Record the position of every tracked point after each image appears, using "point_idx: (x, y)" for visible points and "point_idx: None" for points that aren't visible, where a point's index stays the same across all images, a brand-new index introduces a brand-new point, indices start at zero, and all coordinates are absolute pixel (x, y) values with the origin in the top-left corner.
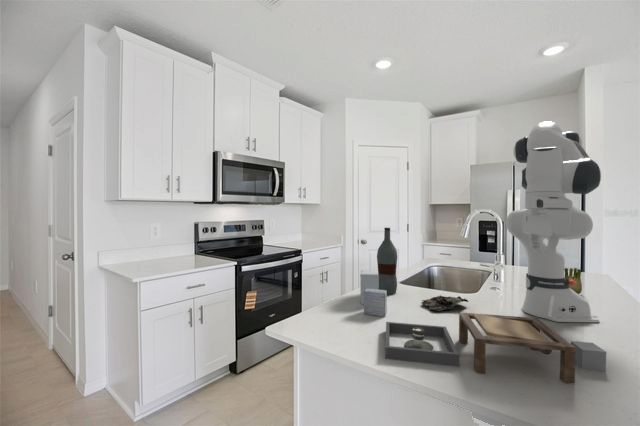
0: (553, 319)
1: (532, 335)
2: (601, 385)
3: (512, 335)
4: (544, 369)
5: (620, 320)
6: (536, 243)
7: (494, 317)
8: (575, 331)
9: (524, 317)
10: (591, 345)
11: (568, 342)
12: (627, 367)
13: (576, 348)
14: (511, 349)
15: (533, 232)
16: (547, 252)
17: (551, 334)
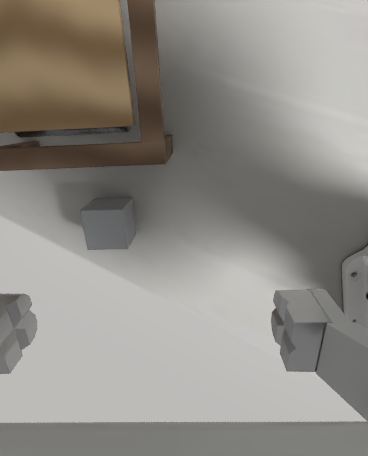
0: (349, 259)
1: (17, 97)
2: (44, 201)
3: None
4: None
5: None
6: (319, 357)
7: (114, 11)
8: (286, 274)
9: (158, 127)
10: (111, 239)
11: (4, 169)
12: (131, 275)
13: (102, 208)
14: None
15: (206, 447)
16: (8, 294)
17: (41, 150)
